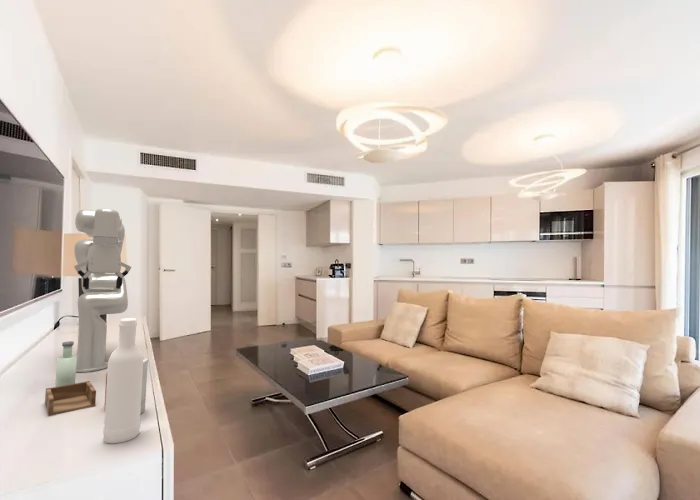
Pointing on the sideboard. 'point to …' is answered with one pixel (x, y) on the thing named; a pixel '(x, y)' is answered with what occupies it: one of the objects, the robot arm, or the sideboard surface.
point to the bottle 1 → (66, 366)
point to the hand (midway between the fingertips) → (102, 288)
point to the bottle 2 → (124, 387)
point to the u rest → (69, 398)
